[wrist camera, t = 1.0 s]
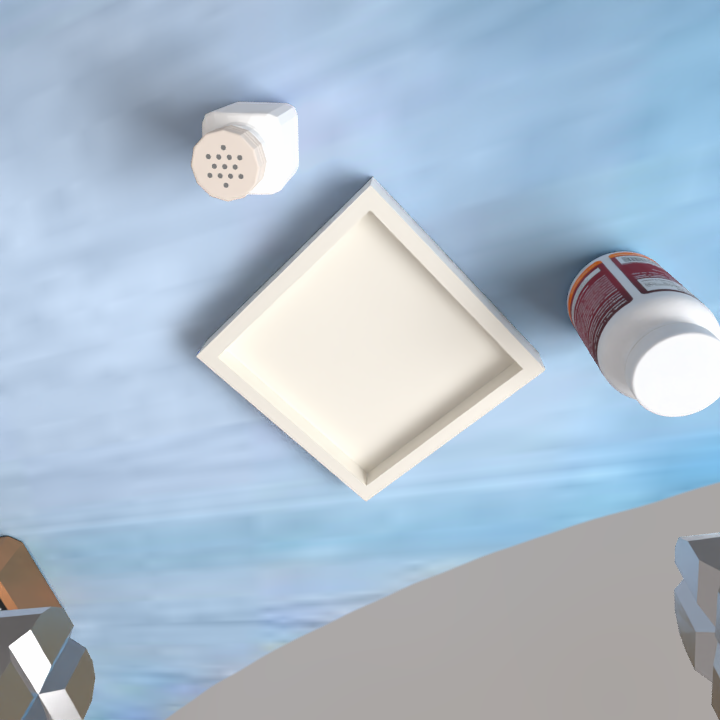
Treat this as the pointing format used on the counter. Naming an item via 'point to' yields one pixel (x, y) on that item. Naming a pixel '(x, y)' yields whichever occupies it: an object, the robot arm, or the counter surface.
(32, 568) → the whiskey bottle
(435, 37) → the counter surface
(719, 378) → the pill bottle
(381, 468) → the tray
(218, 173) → the salt shaker
